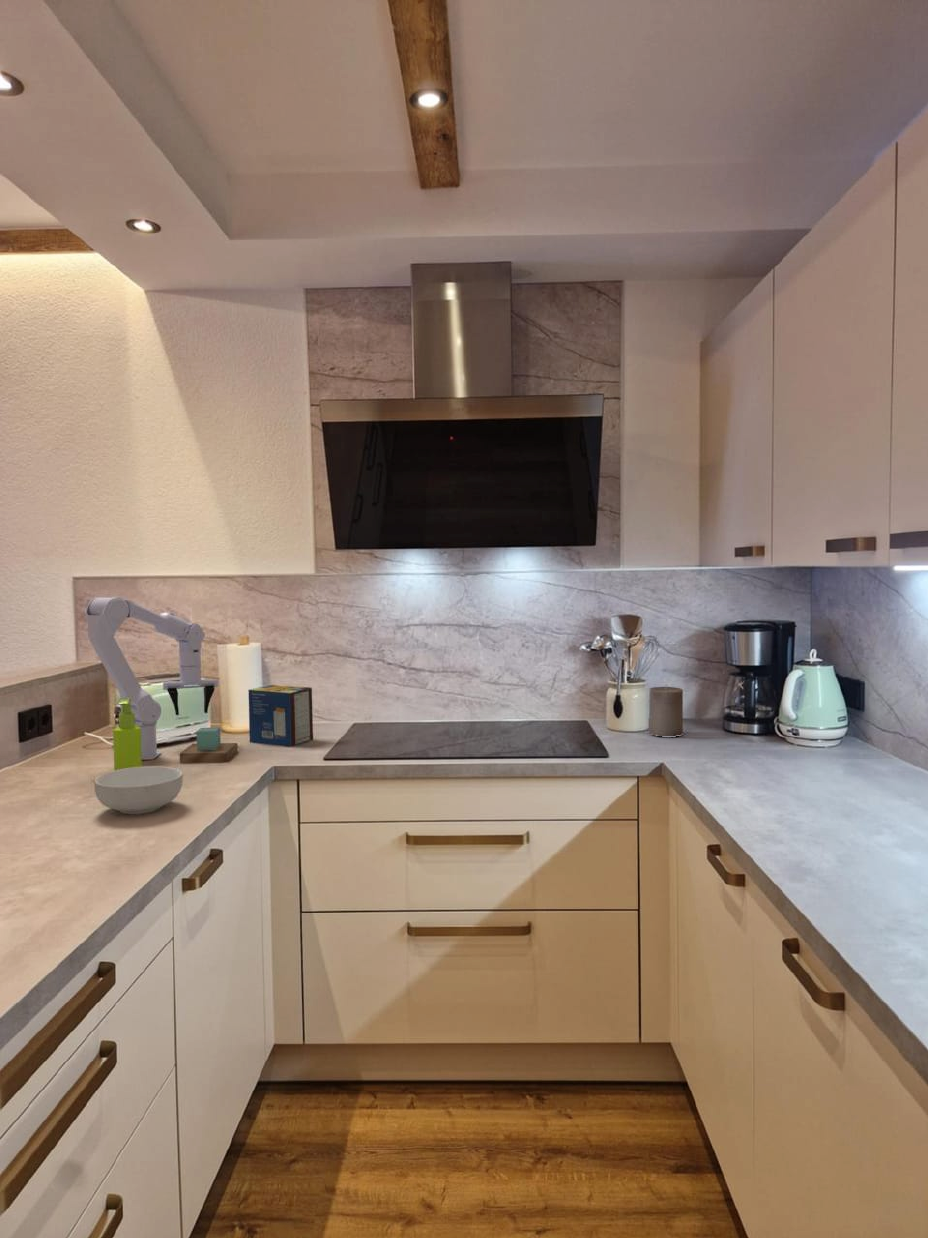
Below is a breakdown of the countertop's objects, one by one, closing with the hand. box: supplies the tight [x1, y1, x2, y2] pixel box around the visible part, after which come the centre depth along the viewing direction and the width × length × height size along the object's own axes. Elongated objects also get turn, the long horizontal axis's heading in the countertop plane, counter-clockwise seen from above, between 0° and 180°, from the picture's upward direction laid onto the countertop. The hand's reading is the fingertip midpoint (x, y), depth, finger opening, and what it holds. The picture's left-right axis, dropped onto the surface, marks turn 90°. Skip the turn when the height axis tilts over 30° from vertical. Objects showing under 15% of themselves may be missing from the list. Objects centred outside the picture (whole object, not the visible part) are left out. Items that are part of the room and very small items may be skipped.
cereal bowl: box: [93, 765, 184, 815], centre depth 166 cm, size 17×17×7 cm
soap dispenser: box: [112, 698, 143, 771], centre depth 185 cm, size 6×7×20 cm
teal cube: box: [195, 726, 222, 750], centre depth 213 cm, size 5×5×5 cm
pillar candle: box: [648, 684, 684, 736], centre depth 237 cm, size 10×10×15 cm
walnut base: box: [179, 742, 238, 764], centre depth 213 cm, size 12×12×3 cm
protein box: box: [247, 684, 314, 747], centre depth 233 cm, size 10×15×16 cm
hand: (191, 713), depth 226 cm, fingers open, 7 cm apart
